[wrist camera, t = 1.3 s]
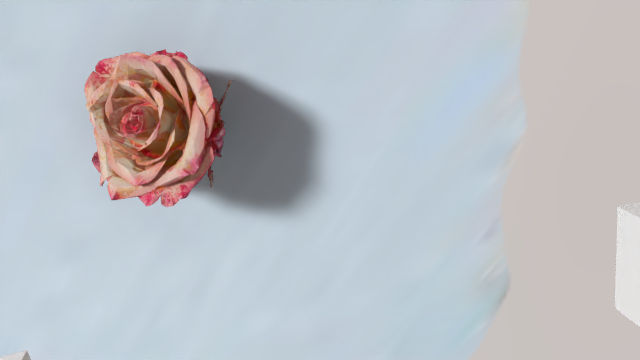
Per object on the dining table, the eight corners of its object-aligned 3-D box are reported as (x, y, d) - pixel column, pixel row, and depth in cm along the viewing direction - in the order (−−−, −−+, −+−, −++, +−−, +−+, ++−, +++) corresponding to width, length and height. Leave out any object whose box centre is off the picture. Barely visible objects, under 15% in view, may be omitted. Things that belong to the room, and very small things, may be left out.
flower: (281, 93, 34) (220, 54, 26) (235, 228, 34) (161, 227, 26) (162, 58, 37) (78, 14, 29) (120, 180, 37) (26, 168, 30)
